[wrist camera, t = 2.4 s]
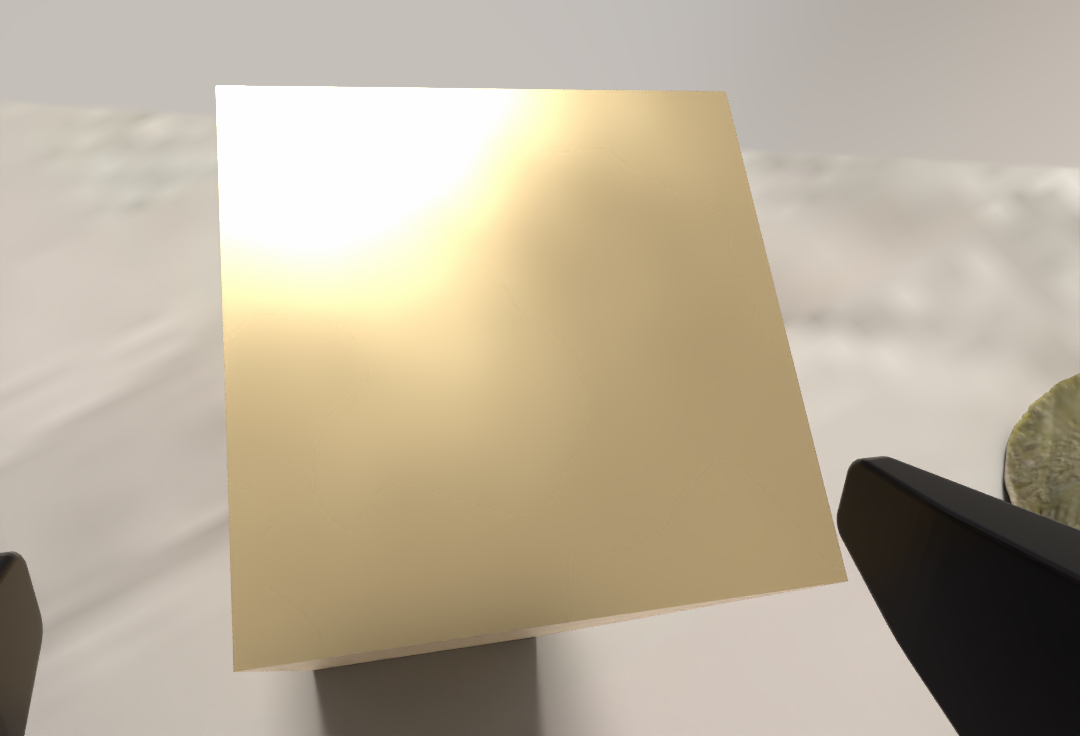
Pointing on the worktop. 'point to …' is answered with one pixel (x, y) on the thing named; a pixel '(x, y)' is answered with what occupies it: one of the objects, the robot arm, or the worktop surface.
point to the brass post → (499, 370)
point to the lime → (1048, 456)
